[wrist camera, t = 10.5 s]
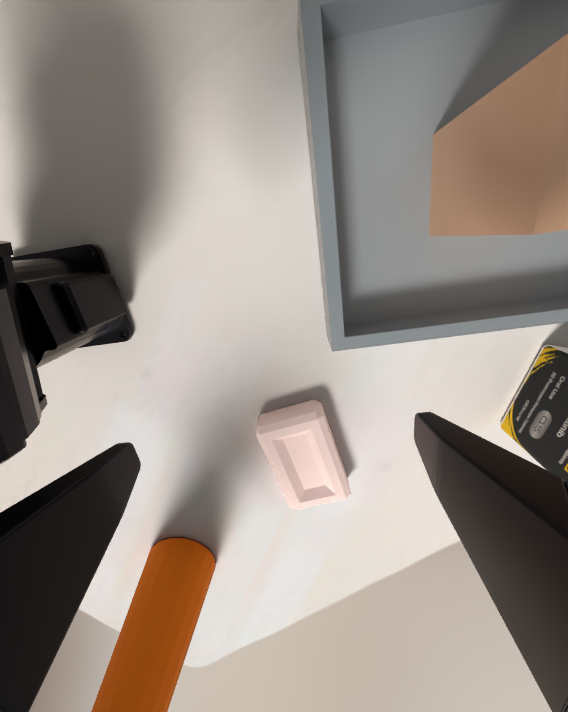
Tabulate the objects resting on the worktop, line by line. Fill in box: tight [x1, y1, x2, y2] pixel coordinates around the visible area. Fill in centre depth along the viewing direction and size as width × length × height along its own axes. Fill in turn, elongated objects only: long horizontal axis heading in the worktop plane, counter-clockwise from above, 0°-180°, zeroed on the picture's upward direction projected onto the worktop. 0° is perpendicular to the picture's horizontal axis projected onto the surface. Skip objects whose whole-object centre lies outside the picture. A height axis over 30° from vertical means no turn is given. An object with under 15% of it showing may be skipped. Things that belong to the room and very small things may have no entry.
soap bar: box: [255, 399, 351, 510], centre depth 23 cm, size 5×9×2 cm, turn 19°
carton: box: [429, 34, 568, 236], centre depth 12 cm, size 5×5×8 cm
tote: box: [298, 0, 568, 351], centre depth 15 cm, size 18×16×3 cm
